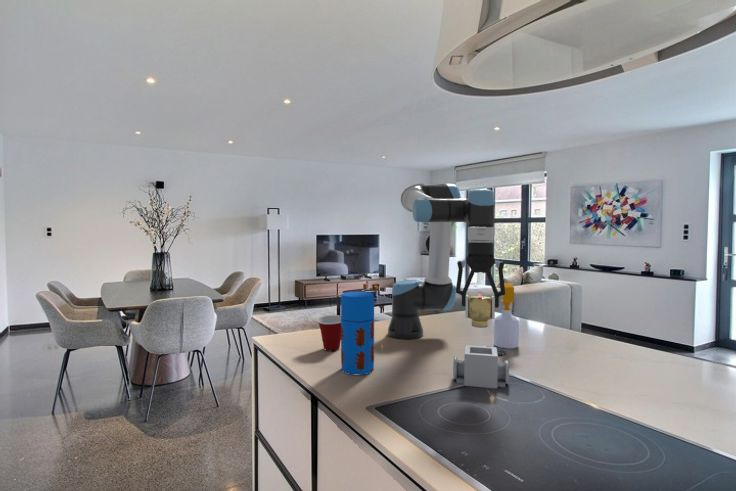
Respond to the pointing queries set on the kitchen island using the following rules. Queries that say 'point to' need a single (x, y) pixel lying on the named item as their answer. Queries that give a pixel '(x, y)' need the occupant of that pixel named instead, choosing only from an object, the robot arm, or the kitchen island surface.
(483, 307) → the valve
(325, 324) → the plastic cup
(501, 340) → the soap bottle
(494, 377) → the grey box with flanges
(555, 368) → the kitchen island surface
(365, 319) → the thermos
